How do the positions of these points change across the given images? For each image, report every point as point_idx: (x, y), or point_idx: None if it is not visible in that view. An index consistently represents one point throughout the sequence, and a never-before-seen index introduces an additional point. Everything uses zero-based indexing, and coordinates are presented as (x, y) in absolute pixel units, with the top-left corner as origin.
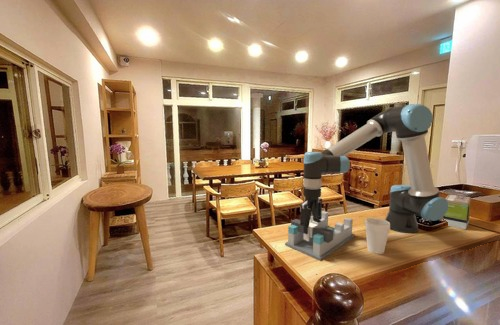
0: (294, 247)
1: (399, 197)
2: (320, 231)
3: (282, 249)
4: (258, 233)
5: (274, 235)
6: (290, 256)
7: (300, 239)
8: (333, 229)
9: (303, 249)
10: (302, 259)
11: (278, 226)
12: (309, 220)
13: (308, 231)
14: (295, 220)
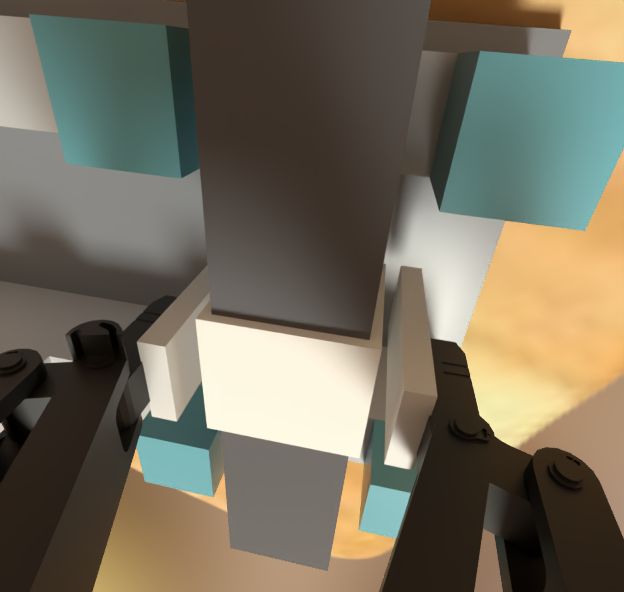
0: (463, 336)
1: None
2: (397, 178)
3: (515, 389)
4: (388, 549)
5: (348, 485)
6: (606, 305)
7: None
8: (51, 33)
9: (461, 264)
10: (615, 200)
11: (222, 502)
12: (426, 520)
13: (429, 349)
14: (277, 545)
